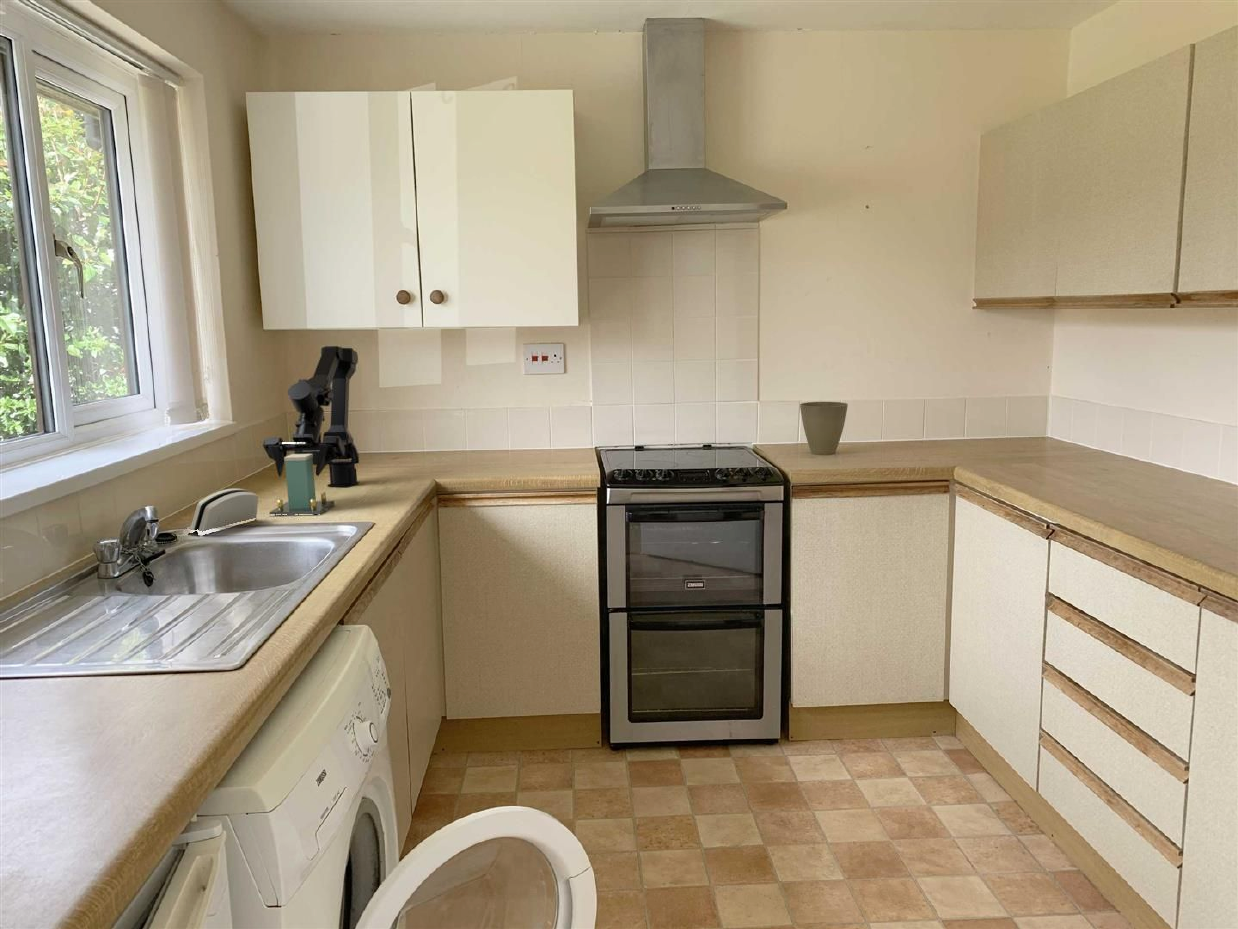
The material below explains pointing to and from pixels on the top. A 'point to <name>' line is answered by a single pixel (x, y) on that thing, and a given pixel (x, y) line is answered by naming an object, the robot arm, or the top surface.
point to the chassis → (316, 508)
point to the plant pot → (823, 425)
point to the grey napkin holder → (224, 509)
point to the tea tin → (300, 480)
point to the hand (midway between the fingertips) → (298, 475)
